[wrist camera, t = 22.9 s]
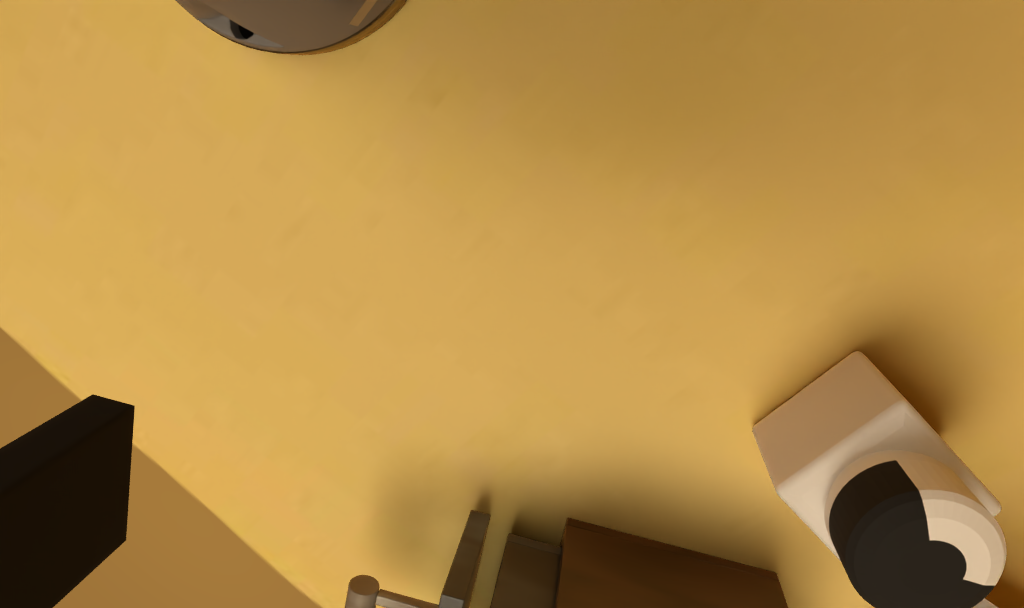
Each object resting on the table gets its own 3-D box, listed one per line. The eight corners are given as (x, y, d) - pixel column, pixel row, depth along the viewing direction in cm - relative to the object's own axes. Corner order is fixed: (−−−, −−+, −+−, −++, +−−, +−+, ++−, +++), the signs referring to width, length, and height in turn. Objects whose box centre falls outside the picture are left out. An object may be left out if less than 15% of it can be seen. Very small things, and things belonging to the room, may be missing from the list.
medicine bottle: (831, 514, 42) (911, 673, 30) (748, 426, 41) (798, 555, 30) (942, 440, 40) (1072, 580, 28) (856, 346, 39) (955, 451, 28)
